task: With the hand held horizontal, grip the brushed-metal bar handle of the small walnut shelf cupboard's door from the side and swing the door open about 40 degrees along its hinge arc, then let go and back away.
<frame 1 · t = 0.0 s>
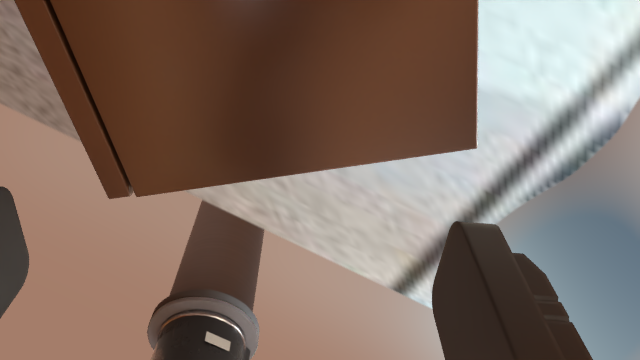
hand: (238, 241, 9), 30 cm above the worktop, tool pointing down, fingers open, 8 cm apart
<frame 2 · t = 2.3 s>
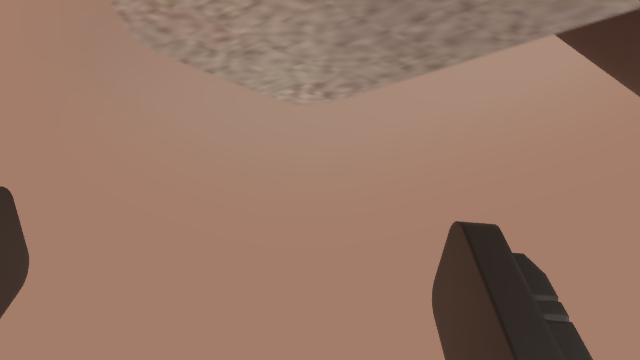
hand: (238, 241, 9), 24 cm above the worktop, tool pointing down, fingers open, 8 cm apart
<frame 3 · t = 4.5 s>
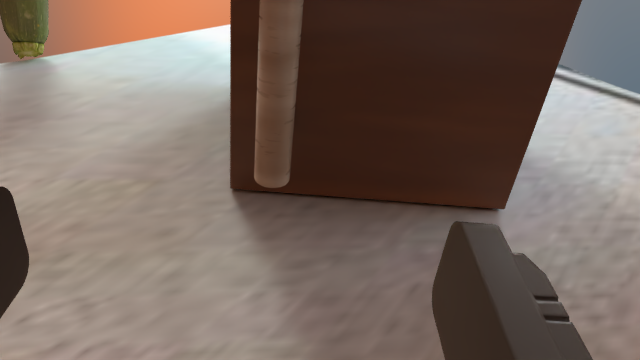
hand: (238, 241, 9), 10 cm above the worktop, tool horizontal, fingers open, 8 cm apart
vegetable: (39, 57, 42), on the worktop
shelf door: (409, 43, 22), point 10 cm above the worktop, hinge at 0.0°
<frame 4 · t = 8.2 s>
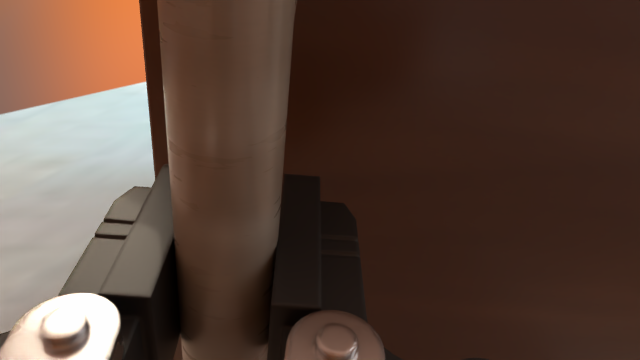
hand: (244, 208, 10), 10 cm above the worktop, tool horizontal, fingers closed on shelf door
shelf door: (501, 224, 11), point 10 cm above the worktop, hinge at 0.0°, touching gripper
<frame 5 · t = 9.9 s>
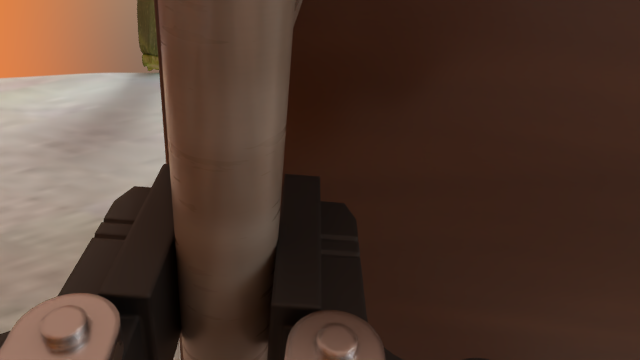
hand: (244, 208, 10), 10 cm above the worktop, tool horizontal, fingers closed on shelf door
vegetable: (167, 71, 42), on the worktop
shelf door: (510, 234, 11), point 10 cm above the worktop, hinge at 21.8°, touching gripper
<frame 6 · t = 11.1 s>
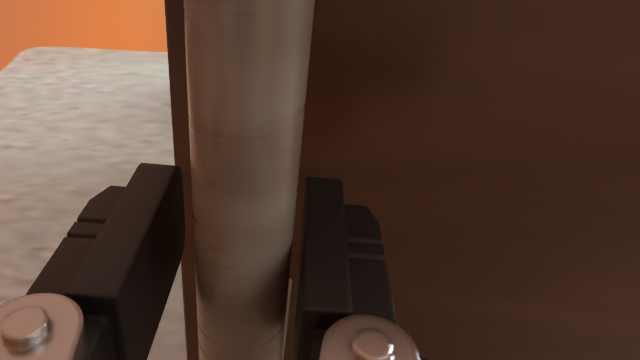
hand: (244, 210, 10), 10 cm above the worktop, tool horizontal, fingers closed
shelf door: (517, 217, 11), point 10 cm above the worktop, hinge at 37.6°
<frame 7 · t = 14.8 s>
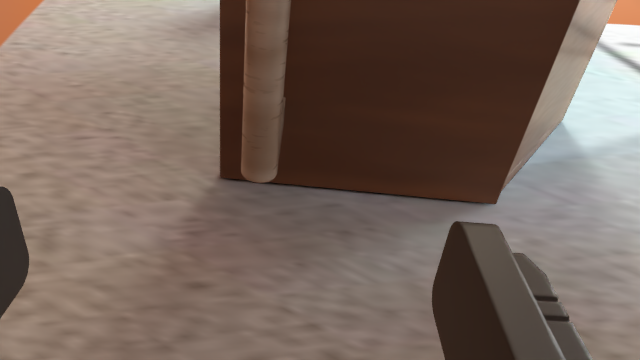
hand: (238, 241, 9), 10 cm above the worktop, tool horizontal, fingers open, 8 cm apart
cupboard: (433, 110, 38), on the worktop
shelf door: (401, 37, 21), point 10 cm above the worktop, hinge at 37.6°
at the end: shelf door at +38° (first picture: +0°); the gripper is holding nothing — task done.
